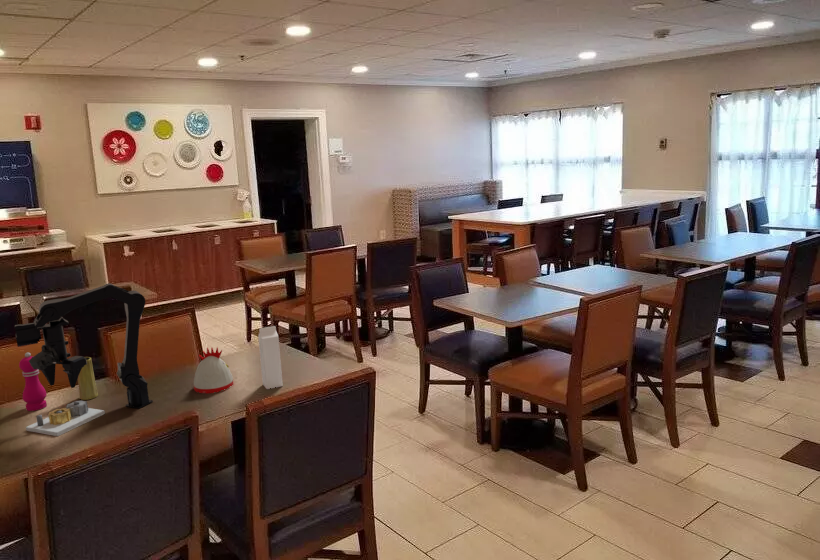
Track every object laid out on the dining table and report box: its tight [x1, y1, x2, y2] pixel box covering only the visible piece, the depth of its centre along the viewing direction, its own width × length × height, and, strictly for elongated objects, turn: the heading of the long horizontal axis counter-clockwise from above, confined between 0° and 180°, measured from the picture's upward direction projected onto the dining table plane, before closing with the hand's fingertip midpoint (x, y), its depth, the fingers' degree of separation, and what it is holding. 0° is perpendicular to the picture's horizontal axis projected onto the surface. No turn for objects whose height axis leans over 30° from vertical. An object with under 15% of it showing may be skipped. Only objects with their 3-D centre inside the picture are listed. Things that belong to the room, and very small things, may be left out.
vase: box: [77, 356, 99, 401], centre depth 230 cm, size 6×6×14 cm
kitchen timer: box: [193, 346, 234, 394], centre depth 235 cm, size 14×14×15 cm
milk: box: [257, 325, 284, 390], centre depth 232 cm, size 6×6×22 cm
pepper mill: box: [18, 352, 48, 412], centre depth 221 cm, size 7×7×20 cm
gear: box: [47, 407, 71, 425], centre depth 207 cm, size 6×6×3 cm
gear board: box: [25, 400, 106, 437], centre depth 209 cm, size 14×18×5 cm
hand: (62, 386), depth 208 cm, fingers open, 9 cm apart
